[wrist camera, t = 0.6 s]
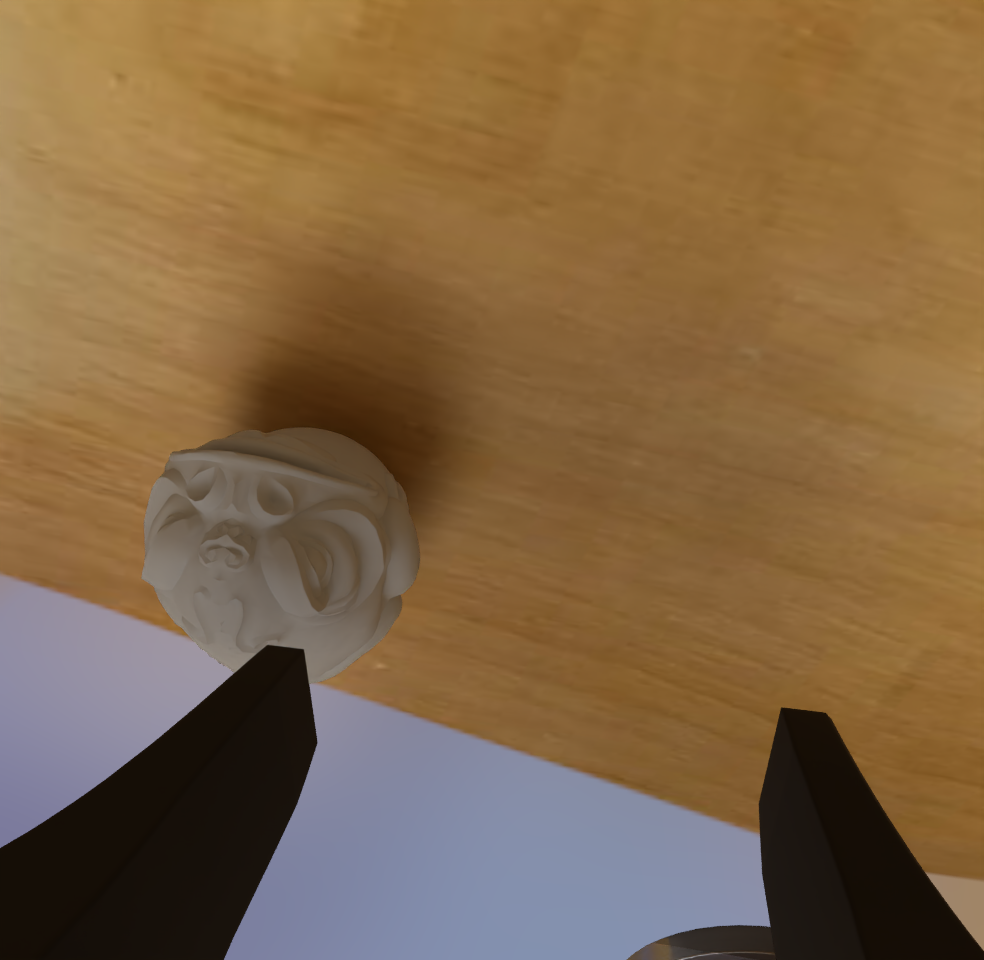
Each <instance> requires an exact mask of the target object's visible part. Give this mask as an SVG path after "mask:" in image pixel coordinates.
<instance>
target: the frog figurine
mask: <svg viewBox="0 0 984 960" xmlns="http://www.w3.org/2000/svg"><path fill="white" fill-rule="evenodd" d="M144 535H145V564H144V568H143V572H142V578H141V579H143V580H145V581H147V582H148V583H149V584H151V585H152V586H154V589H155V592H156V593H157V596H158V598H159V601H160V602H161V604H162V606H163V608H164V609H165V610H166V611H167V613H168V614H169V616H170V617H171V618H172V619H173V621H174V622H175V624H177V625H178V626H180V627H181V628H182V629H183V630H184V631H185V632H186V633H187V634H188V635H189V636H190V638H191V639H192V640H193V641H194V642H195V643H196V644H197V645H198V646H199V647H200V648H201V649H202V650H204V651H205V652H207V654H208V655H209V656H210V657H212V658H214V659H216V660H217V661H218V662H219V663H220V664H222V665H223V666H226V667H228V668H229V669H231V670H232V671H233V672H236V671H237V670H238V669H240V668H241V667H242V666H243V665H244V664H245V663H246V662H247V661H249V660H250V659H251V658H252V657H253V656H254V655H256V654H257V653H258V652H259V651H260V650H261V649H263V648H264V647H265V646H266V645H274V646H283V647H291V648H299V649H304V652H305V659H306V666H307V673H308V680H309V684H311V683H316V682H321V681H324V680H326V679H329V678H331V677H334V676H336V675H337V674H338V673H340V672H341V671H343V670H344V669H345V668H347V667H348V666H349V665H351V664H352V663H353V662H354V661H356V660H357V659H358V658H360V657H361V656H362V655H363V654H365V653H367V652H368V651H369V650H370V649H372V648H373V647H374V646H375V645H376V644H378V643H379V642H380V641H381V640H382V639H383V638H384V637H385V635H386V634H387V633H388V631H389V630H390V628H391V626H392V625H393V623H394V621H395V620H396V619H397V618H398V616H399V614H400V612H401V608H402V598H401V595H400V594H403V593H404V592H405V591H406V590H408V589H409V588H410V587H411V586H412V584H413V582H414V581H415V579H416V575H417V572H418V569H419V565H420V551H419V544H418V538H417V533H416V529H415V526H414V523H413V520H412V518H411V516H410V514H409V505H408V504H407V496H406V494H405V492H404V490H403V488H402V486H401V485H400V484H399V483H398V482H397V481H395V479H394V476H393V474H390V472H389V471H388V470H387V468H386V467H385V466H384V465H383V463H382V462H381V461H380V460H379V459H378V458H377V457H376V456H375V455H374V454H373V453H372V452H370V451H369V450H368V449H367V448H365V447H364V446H362V445H361V444H359V443H357V442H356V441H354V440H353V439H350V438H348V437H346V436H344V435H342V434H338V433H335V432H332V431H328V430H324V429H318V428H306V427H296V428H285V429H280V430H275V431H272V432H269V433H263V432H261V431H260V430H246V431H241V432H237V433H235V434H233V435H230V436H228V437H227V438H224V439H217V440H212V441H210V442H208V443H206V444H204V445H202V446H200V447H198V448H196V449H186V450H181V451H177V452H172V453H171V454H170V457H169V461H168V462H167V463H166V466H165V472H164V473H163V474H162V475H161V476H160V477H159V479H158V480H157V481H156V483H155V484H154V486H153V488H152V491H151V495H150V498H149V502H148V506H147V511H146V515H145V520H144Z"/></svg>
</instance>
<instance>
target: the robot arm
mask: <svg viewBox="0 0 984 960" xmlns="http://www.w3.org/2000/svg"><path fill="white" fill-rule="evenodd" d="M316 746H317V736H316V729H315V722H314V715H313V708H312V701H311V694H310V687H309V680H308V673H307V666H306V659H305V652H304V649H299V648H291V647H283V646H274V645H266V646H265V647H264V648H263V649H261V650H260V651H259V652H258V653H257V654H256V655H254V656H253V657H252V658H251V659H250V660H249V661H247V662H246V663H245V664H244V665H243V666H242V667H241V668H240V669H238V670H237V671H236V672H235V673H234V674H233V675H232V676H231V677H229V678H228V679H227V680H226V681H225V682H224V683H223V684H222V685H220V686H219V687H218V688H217V689H216V690H215V691H213V692H212V693H211V694H210V695H209V696H208V697H207V698H205V699H204V700H203V701H202V702H201V703H200V704H199V705H197V706H196V707H195V708H194V709H193V710H192V711H190V712H189V713H188V714H187V715H186V716H185V717H183V718H182V719H181V720H180V721H178V722H177V723H176V724H175V725H174V726H173V727H171V728H170V729H169V730H168V731H167V732H165V733H164V734H163V735H162V736H161V737H159V738H158V739H157V740H156V741H155V742H153V743H152V744H151V745H150V746H148V747H147V748H146V749H144V750H143V751H142V752H140V753H139V754H138V755H137V756H135V757H134V758H133V759H131V760H130V761H129V762H128V763H126V764H125V765H124V766H123V767H121V768H120V769H119V770H117V771H116V772H115V773H113V774H112V775H111V776H109V777H108V778H107V779H106V780H104V781H103V782H101V783H100V784H99V785H97V786H96V787H95V788H93V789H92V790H90V791H89V792H88V793H86V794H85V795H84V796H82V797H80V798H79V799H78V800H76V801H75V802H73V803H72V804H70V805H69V806H67V807H66V808H64V809H63V810H61V811H60V812H58V813H57V814H55V815H54V816H52V817H51V818H49V819H47V820H46V821H44V822H43V823H41V824H40V825H38V826H37V827H35V828H33V829H32V830H30V831H29V832H27V833H25V834H23V835H22V836H20V837H18V838H17V839H15V840H13V841H11V842H10V843H8V844H7V845H5V846H3V847H1V848H0V960H224V958H225V956H226V953H227V951H228V949H229V947H230V944H231V942H232V940H233V937H234V935H235V933H236V931H237V929H238V927H239V925H240V923H241V921H242V919H243V917H244V914H245V912H246V910H247V908H248V906H249V904H250V902H251V900H252V898H253V896H254V893H255V892H256V889H257V887H258V885H259V883H260V881H261V879H262V877H263V875H264V873H265V871H266V869H267V867H268V865H269V862H270V860H271V858H272V856H273V854H274V851H275V850H276V848H277V846H278V844H279V841H280V839H281V837H282V835H283V833H284V831H285V828H286V827H287V824H288V822H289V820H290V818H291V816H292V814H293V812H294V809H295V807H296V805H297V803H298V800H299V797H300V794H301V791H302V788H303V785H304V782H305V780H306V777H307V774H308V770H309V767H310V764H311V761H312V758H313V755H314V752H315V748H316ZM759 820H760V841H761V860H762V875H763V881H764V888H765V895H766V901H767V907H768V913H769V919H770V926H771V932H772V938H773V944H774V950H775V956H776V960H984V951H983V950H982V948H981V947H980V946H979V945H978V943H977V942H976V941H975V940H974V938H973V937H972V936H971V934H970V933H969V932H968V931H967V929H966V928H965V927H964V925H963V924H962V923H961V921H960V920H959V919H958V917H957V916H956V915H955V913H954V912H953V911H952V909H951V908H950V907H949V905H948V904H947V902H946V901H945V900H944V898H943V897H942V896H941V894H940V893H939V891H938V890H937V889H936V887H935V886H934V885H933V883H932V882H931V881H930V879H929V878H928V876H927V875H926V873H925V872H924V870H923V869H922V867H921V866H920V865H919V863H918V862H917V860H916V859H915V857H914V856H913V854H912V853H911V851H910V850H909V848H908V847H907V845H906V844H905V842H904V841H903V839H902V838H901V836H900V834H899V833H898V831H897V830H896V828H895V827H894V825H893V824H892V822H891V821H890V819H889V818H888V816H887V815H886V813H885V811H884V810H883V808H882V807H881V805H880V803H879V802H878V800H877V799H876V797H875V795H874V794H873V792H872V790H871V789H870V787H869V785H868V784H867V782H866V780H865V778H864V777H863V775H862V773H861V772H860V770H859V768H858V767H857V765H856V763H855V761H854V760H853V758H852V756H851V754H850V753H849V751H848V749H847V747H846V745H845V744H844V742H843V740H842V738H841V736H840V734H839V733H838V731H837V729H836V727H835V725H834V723H833V721H832V720H831V718H830V717H829V716H828V715H827V714H826V713H823V712H815V711H807V710H799V709H791V708H782V707H781V711H780V715H779V719H778V724H777V728H776V732H775V736H774V741H773V745H772V749H771V754H770V758H769V762H768V767H767V771H766V775H765V779H764V784H763V788H762V792H761V797H760V801H759Z"/></svg>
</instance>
